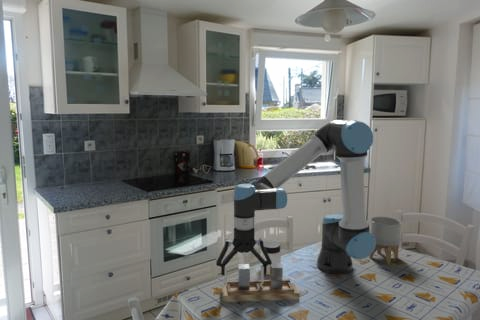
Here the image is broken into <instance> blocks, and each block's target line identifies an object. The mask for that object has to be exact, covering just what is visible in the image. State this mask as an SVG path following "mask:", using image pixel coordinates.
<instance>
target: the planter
mask: <svg viewBox="0 0 480 320" xmlns="http://www.w3.org/2000/svg"><path fill="white" fill-rule="evenodd" d="M401 227H402V222H401V220H399V219H397V218H393V217H388V216H374V217H371V218H370V224H369V231H370V233H371V234H372V235H373V236H374V237H375V240H376V246H375V249H374V251H373V252H372V253H371V254H370V255H369V256H368V258H369V259H373V258H374V254H375V253H378V254H381V253H382V249H383V250H384V253H385V262H386V264H391V261H392V253H393V258H395V259H398V258H399V248H400V246H399V245H400V242H401Z"/></svg>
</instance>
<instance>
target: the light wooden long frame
mask: <svg viewBox="0 0 480 320" xmlns="http://www.w3.org/2000/svg"><path fill="white" fill-rule="evenodd" d="M300 295H301V294H300V291H299V289H298V286H297V285H296V282H291V279H290V278H287V279H283V265H282V263H272V264H271V265H270V275H269V279H264V284H261V279H254V280H253V279H252V280H251V279H250V290H238V280H227V285H225V284H221V298H222V303H234V302H235V303H237V302H242V303H243V302H264V301H265V302H266V301H268V302H269V301H294V300H295V301H297V300H298V301H299V300H300Z"/></svg>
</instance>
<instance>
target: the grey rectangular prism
mask: <svg viewBox="0 0 480 320" xmlns="http://www.w3.org/2000/svg"><path fill="white" fill-rule="evenodd" d="M237 267H238V268H237V270H238V271H237V273H238V274H237V275H238V276H237V278H238V279H237V281H238V290H250V280H251V268H250V267H251V266H250V264H249V263H239V264H238V265H237Z"/></svg>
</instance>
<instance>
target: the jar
mask: <svg viewBox="0 0 480 320" xmlns="http://www.w3.org/2000/svg"><path fill="white" fill-rule="evenodd" d="M263 245H264V248H265V250H266V251H267V253H268V255H269V257H270V259H271V262H272V263H281V261H282V259H281V257H282V256H281V254H282V253H281V249H282V248H281V243H280V242H278V241H275V240H274V241H273V240H267V241H266V240H265V241H263ZM260 255H261V257H262V258H263V259H264V260H265V261H266V258H265V256H264V254H263V252H262V250H261V249H260ZM261 264H262V263H261V262H260V265H261ZM281 264H282V263H281ZM265 275H267V276H270V265H267V273H266V274H265Z"/></svg>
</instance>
